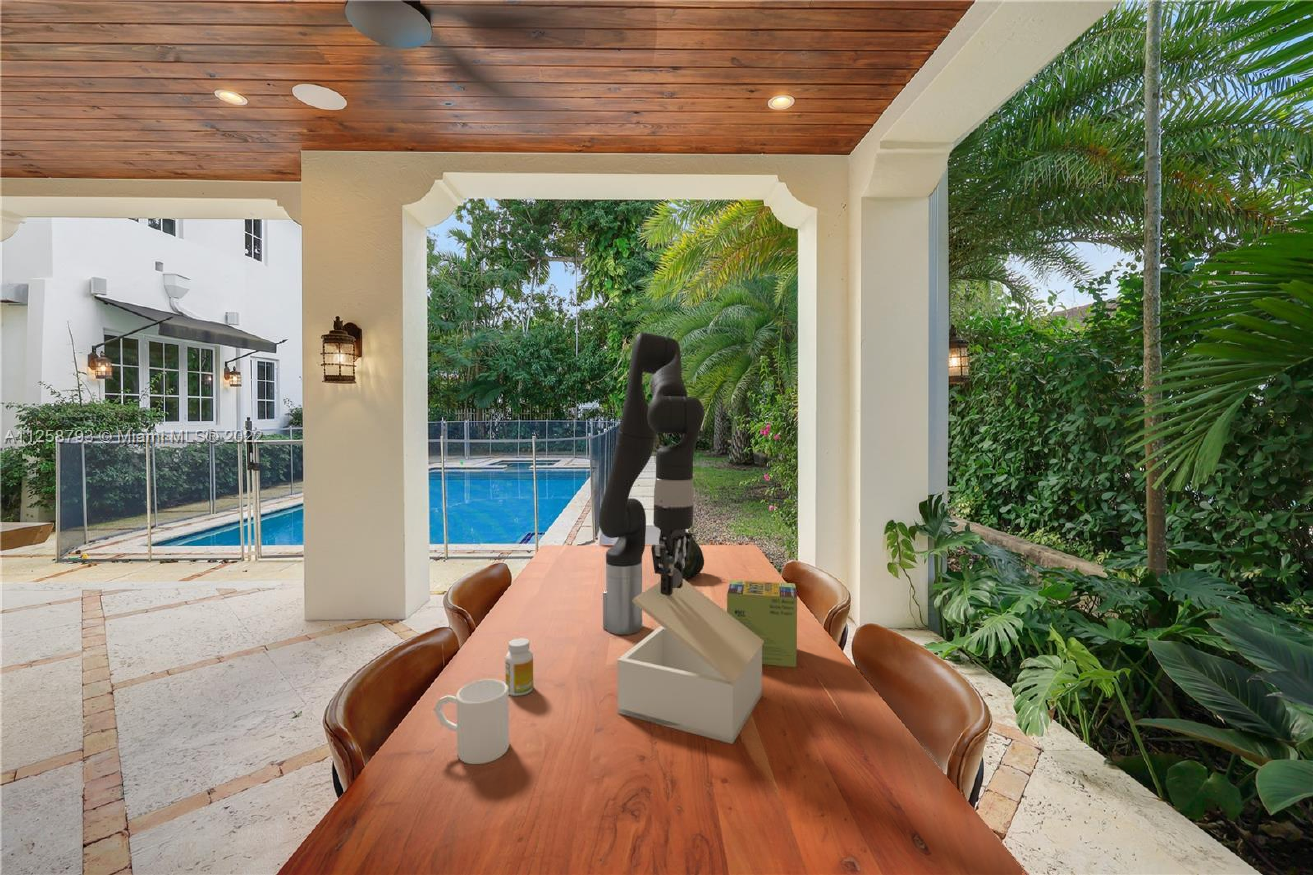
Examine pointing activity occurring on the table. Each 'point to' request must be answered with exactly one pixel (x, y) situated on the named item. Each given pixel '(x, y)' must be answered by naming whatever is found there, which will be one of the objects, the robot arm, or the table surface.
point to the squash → (693, 561)
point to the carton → (685, 688)
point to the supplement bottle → (519, 667)
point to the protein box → (768, 617)
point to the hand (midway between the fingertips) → (671, 590)
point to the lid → (701, 626)
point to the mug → (479, 720)
